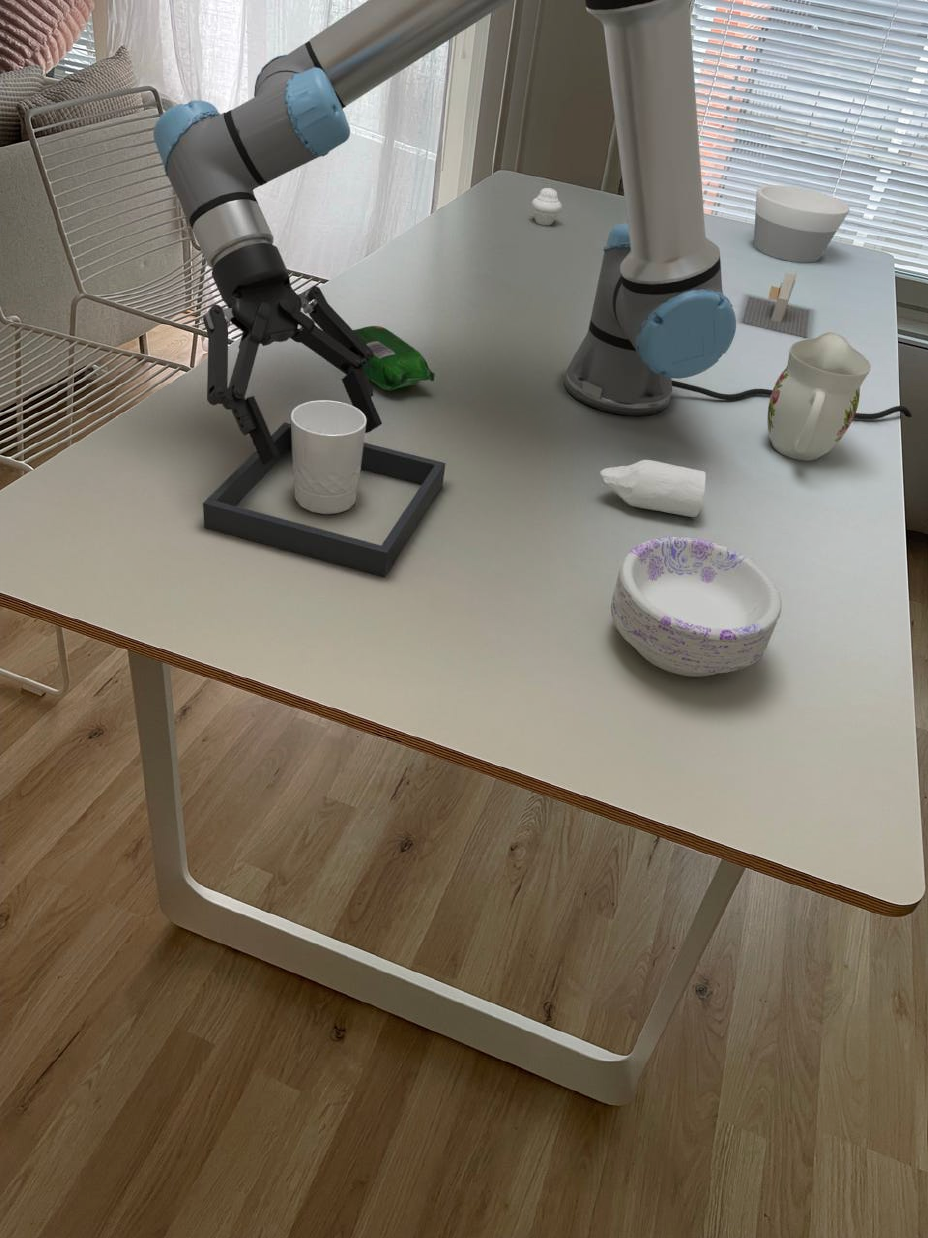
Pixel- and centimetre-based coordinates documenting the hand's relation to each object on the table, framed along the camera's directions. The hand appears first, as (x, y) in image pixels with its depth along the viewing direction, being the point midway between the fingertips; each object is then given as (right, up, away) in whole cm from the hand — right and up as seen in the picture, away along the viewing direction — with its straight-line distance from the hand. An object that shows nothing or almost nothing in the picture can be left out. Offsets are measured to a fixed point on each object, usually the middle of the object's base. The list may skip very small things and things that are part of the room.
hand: (324, 444), depth 104 cm
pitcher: (+60, +4, +28) cm, 66 cm away
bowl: (+84, +60, +103) cm, 146 cm away
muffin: (+31, +63, +97) cm, 120 cm away
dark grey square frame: (0, -6, +3) cm, 7 cm away
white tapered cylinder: (+36, -5, +12) cm, 39 cm away
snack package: (+4, +15, +30) cm, 34 cm away
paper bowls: (+36, -21, -9) cm, 43 cm away
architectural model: (+71, +35, +70) cm, 106 cm away
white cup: (-1, -5, +4) cm, 7 cm away
